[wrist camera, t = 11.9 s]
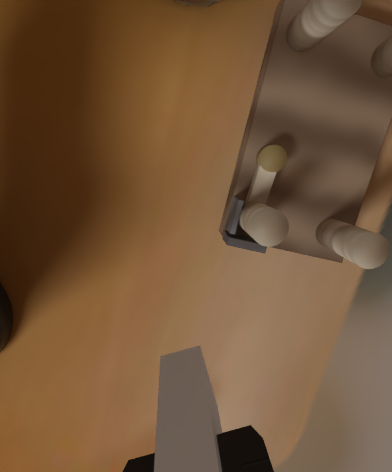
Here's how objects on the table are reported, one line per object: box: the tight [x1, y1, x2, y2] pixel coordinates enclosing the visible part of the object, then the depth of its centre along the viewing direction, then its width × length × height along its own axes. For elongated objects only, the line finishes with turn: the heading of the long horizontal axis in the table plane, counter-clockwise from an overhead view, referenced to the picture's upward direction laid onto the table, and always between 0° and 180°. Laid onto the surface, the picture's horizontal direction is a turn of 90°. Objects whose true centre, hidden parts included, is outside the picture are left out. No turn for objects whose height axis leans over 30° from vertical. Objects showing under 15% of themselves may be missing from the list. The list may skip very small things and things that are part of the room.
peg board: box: [219, 0, 392, 269], centre depth 31 cm, size 24×14×11 cm, turn 166°
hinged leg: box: [238, 145, 289, 247], centre depth 30 cm, size 9×3×8 cm, turn 163°
